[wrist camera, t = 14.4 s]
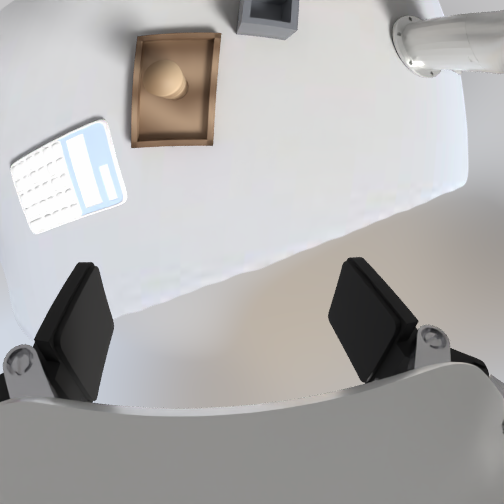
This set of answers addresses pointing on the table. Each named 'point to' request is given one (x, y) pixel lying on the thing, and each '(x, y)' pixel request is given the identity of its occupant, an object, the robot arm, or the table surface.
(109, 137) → the calculator
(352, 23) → the table surface
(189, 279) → the table surface
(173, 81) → the dowel
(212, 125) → the tray
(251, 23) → the pen cup
